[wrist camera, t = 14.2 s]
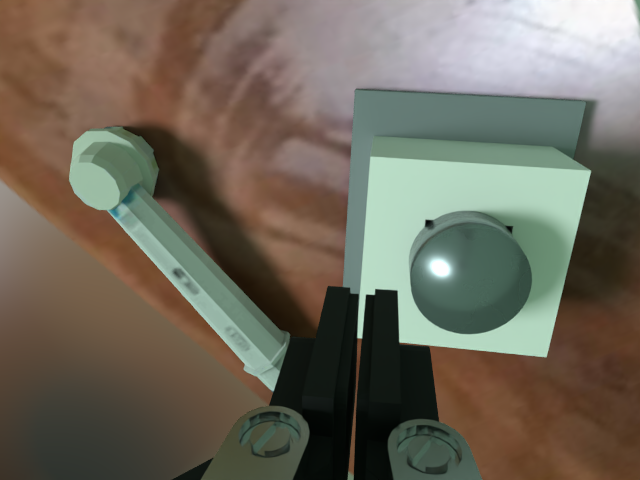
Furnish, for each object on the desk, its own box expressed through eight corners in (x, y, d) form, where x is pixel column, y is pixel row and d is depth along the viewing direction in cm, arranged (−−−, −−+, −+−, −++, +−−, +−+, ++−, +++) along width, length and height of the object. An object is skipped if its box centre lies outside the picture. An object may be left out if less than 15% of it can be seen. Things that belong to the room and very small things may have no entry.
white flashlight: (265, 410, 42) (25, 177, 33) (275, 356, 48) (73, 146, 39) (316, 383, 40) (77, 131, 31) (320, 331, 46) (120, 106, 37)
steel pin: (410, 180, 35) (417, 223, 27) (505, 187, 34) (542, 233, 26) (401, 265, 37) (404, 328, 29) (490, 272, 37) (520, 339, 28)
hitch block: (356, 88, 35) (347, 100, 28) (580, 100, 34) (635, 116, 26) (341, 315, 42) (331, 373, 34) (529, 333, 40) (561, 398, 33)
